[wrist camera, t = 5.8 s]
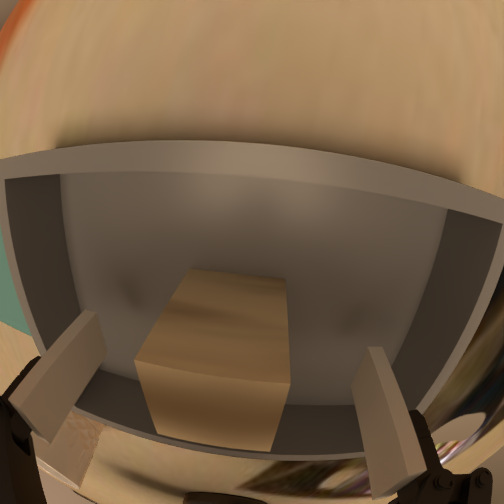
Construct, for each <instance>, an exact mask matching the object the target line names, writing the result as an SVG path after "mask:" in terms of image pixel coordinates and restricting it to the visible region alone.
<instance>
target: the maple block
mask: <svg viewBox="0 0 504 504" xmlns="http://www.w3.org/2000/svg"><path fill="white" fill-rule="evenodd" d="M134 362H135V366H136V369H137V373H138V377H139V380H140V383H141V387H142V390H143V393H144V396H145V400H146V403H147V406H148V409H149V412H150V414H151V417H152V420H153V423H154V426H155V428H156V431H157V434H161V435H165V436H169V437H173V438H177V439H182V440H186V441H191V442H196V443H202V444H207V445H213V446H220V447H227V448H235V449H243V450H254V451H267V452H270V450H271V447H272V444H273V441H274V437H275V434H276V431H277V428H278V425H279V422H280V419H281V415H282V412H283V409H284V405H285V402H286V398H287V395H288V391H289V388H290V384H291V381H290V355H289V334H288V315H287V298H286V282H285V279H281V278H271V277H262V276H252V275H243V274H234V273H225V272H216V271H207V270H199V269H189V270H188V272H187V273H186V275H185V276H184V278H183V280H182V281H181V283H180V284H179V286H178V287H177V289H176V291H175V292H174V294H173V295H172V297H171V299H170V300H169V302H168V303H167V305H166V307H165V308H164V310H163V312H162V313H161V315H160V316H159V318H158V320H157V321H156V323H155V325H154V326H153V328H152V330H151V331H150V333H149V335H148V336H147V338H146V340H145V341H144V343H143V345H142V347H141V348H140V350H139V352H138V353H137V355H136V357H135V359H134Z"/></svg>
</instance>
